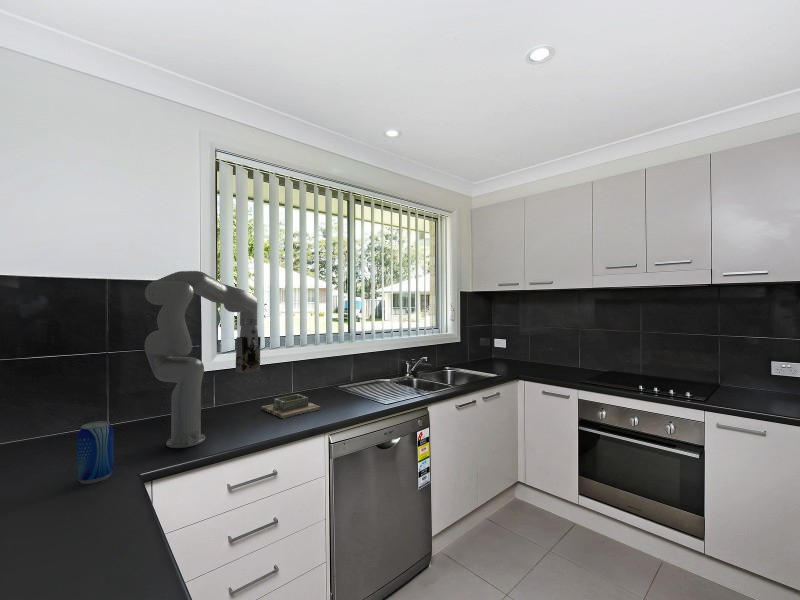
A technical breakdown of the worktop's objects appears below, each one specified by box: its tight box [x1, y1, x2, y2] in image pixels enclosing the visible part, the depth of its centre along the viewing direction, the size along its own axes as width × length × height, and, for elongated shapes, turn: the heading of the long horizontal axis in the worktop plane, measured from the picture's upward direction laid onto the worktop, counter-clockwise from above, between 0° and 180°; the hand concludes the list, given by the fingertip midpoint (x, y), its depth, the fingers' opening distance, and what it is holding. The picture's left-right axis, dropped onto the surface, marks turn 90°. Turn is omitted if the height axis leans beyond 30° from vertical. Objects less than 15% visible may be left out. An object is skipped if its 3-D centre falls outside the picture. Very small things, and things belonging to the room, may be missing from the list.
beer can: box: [76, 420, 114, 485], centre depth 112 cm, size 8×8×16 cm
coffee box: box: [235, 336, 262, 374], centre depth 176 cm, size 9×6×16 cm
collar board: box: [261, 393, 321, 419], centre depth 182 cm, size 20×20×6 cm
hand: (248, 360), depth 176 cm, fingers closed on coffee box, 6 cm apart
